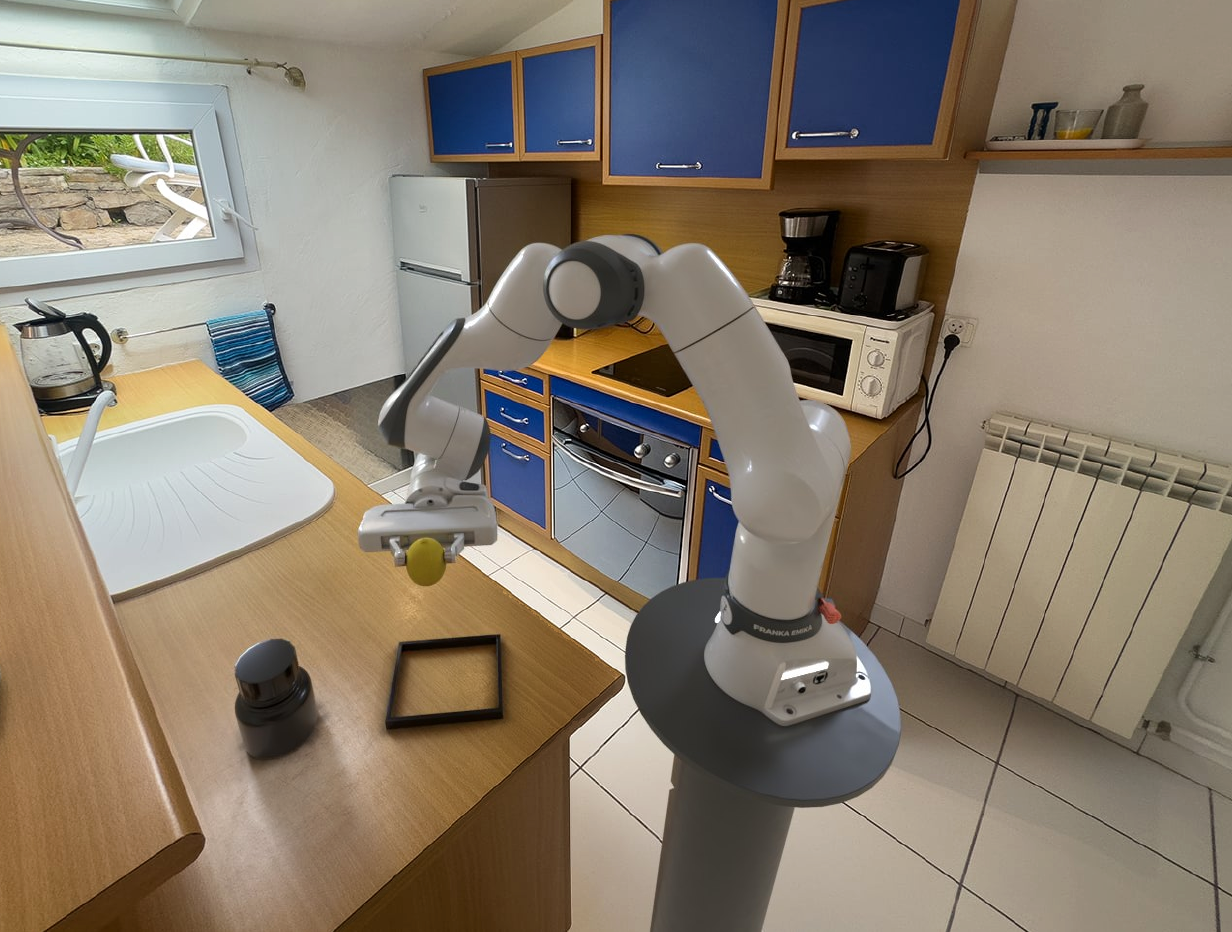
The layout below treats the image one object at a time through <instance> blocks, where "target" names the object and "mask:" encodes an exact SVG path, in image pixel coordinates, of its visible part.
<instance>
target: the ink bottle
mask: <svg viewBox="0 0 1232 932" xmlns="http://www.w3.org/2000/svg"><path fill="white" fill-rule="evenodd" d="M298 659H299V658H298V655H297V649H296V646H295V645H293V643H292V642H291V641H290V640H287V639H283V638H269V639H267V640H263V641H259V642H258V643H256V644H254V645H253V646H251V647H248V648H247V650H245V651H244V652H243V654H241V655H240V656H239V657H238V660H237V661H236V663H235V665H234V678H235V681H236V684H237V688H238V693H237V696H236V698H235V700H234V701H235V703H234V714H235V718H236V721H237V725H238V729H239V732H240V736H241V739H242V742H243V746H244V749H245V750H246V752H247V753H248V754H249V755H250V756H251V757H253V758H255V759H259V760H272V759H277V758H281V757H285V756H286V755H289V754H291V753H292V752H294V751H297V750H298V749H299V748H300V747H302V746H303V745H304V744H305V743H306V742H307V741H308V740H309V739H310V737H311V736H312V734H313V732H314V731H315V729H316V726H317V723H318V719H319V714H318V705H317V701H316V696H315V692H314V687H313V682H312V678H311V675H310V674H309V672H308V671H307V670H306V669H305V668H304V667H302V666H301V665H300V664H299V660H298Z"/></svg>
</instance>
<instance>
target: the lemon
mask: <svg viewBox="0 0 1232 932" xmlns="http://www.w3.org/2000/svg"><path fill="white" fill-rule="evenodd" d="M406 552H407V554H406V555H407V557H406V566H405V567H406V572H407V575H408V577H409V578H410V580H411V581H412V582H413V583H414V584H416V585H417V586H420V587H430V586H434V585H436V584H437V583H438V582H440V581H441V579H442V578H443V577H444V575H445V574H446V569H447V564H445V557H444V554H445V548H443V547H442V546H441V544H440V543H439V542H438V541H436V540H435V539H432V538H421V539H418V540H417V541H415V542H414V543H413V544H412V545H411V546H410V548H409V550H407V551H406Z"/></svg>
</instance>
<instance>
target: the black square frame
mask: <svg viewBox="0 0 1232 932" xmlns="http://www.w3.org/2000/svg"><path fill="white" fill-rule="evenodd" d="M501 638H502V637H501V633H496V634H494V633H493V634H480V635H471V636H458V637H444V638H431V639H430V638H429V639H418V640H417V639H415V640H406V641H405V640H404V641H403V640H402V641H399V642H398V645H397V650H396V656H395V660H394V661H395V662H394V668H393V672H392V673H393V674H392V679H391V685H390V691H389V696H388V703H387V708H386V712H385V713H386V715H385V718H384V719H385V720H384V725H385V730H386V731H389V730H400V729H409V728H411V729H412V728H420V727H432V726H443V725H452V724H463V723H475V722H485V721H496V720H504V700H503V695H504V694H503V671H502V670H503V669H502V667H503V666H502V640H501ZM494 645H496V660H497V661H496V664H497V666H496V669H497V707H490V708H481V709H479V708H478V709H469V710H457V711H445V712H435V713H425V714H415V715H414V714H413V715H403V716H394V711H395V705H396V699H397V694H398V686H399V681H400V675H401V669H402V668H401V667H402V661H403V655H404V652H405V653H406V652H416V651H417V652H418V651H430V650H443V649H455V648H469V647H479V646H480V647H482V646H494Z"/></svg>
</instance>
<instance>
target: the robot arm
mask: <svg viewBox="0 0 1232 932" xmlns="http://www.w3.org/2000/svg"><path fill="white" fill-rule="evenodd" d="M637 317H644V318H646V319H648V320H649V321H650V322H652V323H653V324H654V325H655V326H656V327H657V329H658V330H659V332H660V333H661V334H662V335H663V337H664V339H665V341H666V343H667V344H668V346H669V348H670V349H671V351H672V353H673V354H674V356H675V358H676V360H677V361H678V363H679V365H680V366H681V368H682V370H683V372H684V373H685V375H686V377H687V378H688V381H690V384H691V385H692V387H693V388H694V390H695V392H696V394H697V395H698V397H699V398H700V400H701V403H702V405H703V407H704V408H705V411H706V413H707V415H708V418H709V420H710V423H711V426H712V429H713V431H714V434H715V438H716V441H717V443H718V445H719V449H720V452H721V454H722V458H723V461H724V464H725V467H726V471H727V474H728V478H729V479H728V480H729V484H730V485H729V486H730V500H731V506H732V510H733V513H734V516H735V517H736V519H737V521H738V523H737V526H736V530H735V535H734V536H735V537H734V541H733V546H732V553H731V559H730V565H729V570H728V572H727V573H726V575H725V577H724V578H725V582H724V586H723V592H722V598H721V605H720V612H719V614H718V615H717V617H716V620H715V622H718V623H717V626H716V628H715V630H714V633H713V634H712V636H711V638H710V639H709V641H708V643H707V644H706V647H705V651H704V661H705V665H706V668H707V670H708V672H709V674H710V676H711V677H712V679H713V680H714V682H715V683H716V684H717V685H718V686H719V687H720V688H721V689H722V690H723V691H724V692H725V693H726V694H728V695H729V696H731V697H732V698H734V699H735V700H737V701H739V702H741V703H743V704H745V705H747V706H750V707H752V708H755V709H757V710H759V711H761V712H762V713H763V714H765V715H766V716H767V717H768V718H770V719H771V720H772V721H774V722H775V723H777V724H779V725H781V726H789V725H792V724H795V723H799V722H802V721H805V720H808V719H811V718H814V717H817V716H820V715H823V714H827V713H830V712H833V711H836V710H839V709H842V708H845V707H848V706H851V705H854V704H858V703H861V702H864V701H867V700H869V699H870V698H871V683H870V679H869V676H868V674H867V672H866V670H865V668H864V666H863V664H862V663H861V661H860V659H859V658H858V656H857V655H856V651H855V648H854V645H853V643H852V641H851V639H850V637H849V635H848V634H847V632H846V631H845V629H844V628H843V627H842V625H841V624H840V623H839V622H838V621H840V622H841V619H842V614H841V612H840V611H839V610H837V609H838V607H837V605H836V604H835V602H834V600H833V598H831V597H830V598H829V597H828V598H827V597H824V594H823V592H821V590H820V589H819V583H820V581H821V575H822V571H823V567H824V563H825V559H826V554H827V551H828V547H829V543H830V538H831V535H832V531H833V528H834V523H835V518H836V514H837V512H838V511H837V510H838V506H839V503H840V498H841V494H842V492H843V491H842V490H843V487H844V482H845V480H846V474H847V471H848V467H849V463H850V459H851V452H852V444H851V437H850V433H849V429H848V426H847V424H846V421H845V420H844V418H843V417H842V415H841V414H840V413H839V412H838V411H837V410H836V409H835V408H833V406H832V407H831V406H830V405H828V404H826V403H824V402H822V401H821V402H820V401H818V400H813V399H812V400H811V399H803V400H800V398H799V395H798V393H797V389H796V386H795V383H794V380H793V377H792V371H791V366H790V363H789V361H788V359H787V356H786V355H785V353H784V352H783V350H782V348H781V347H780V345H779V344H778V342H777V340H776V338H775V337H774V335H773V334H772V332H771V330H770V328H769V327H768V325H767V324H766V322H765V320H764V318H763V317H762V315H761V314H760V312H759V310H758V309H757V307H756V306H755V303H754V302H753V300H752V299H751V298H750V296H749V293H748V292H747V291H746V290H745V288H744V287H743V285H742V284H741V283H740V281H739V280H738V279H737V277H736V276H735V275H734V273H733V272H732V271H731V270H730V269H729V267H728V266H727V265H726V264H725V263H724V261H723V260H722V259H721V258H720V257H719V256H718V255H717V254H716V252H714V251H713V250H712V249H711V248H710V247H709V246H707V245H705V244H703V243H700V242H699V243H698V242H689V243H684V244H683V243H682V244H678V245H676V246H673V247H671V248H669V249H668V250H666V251H665V252H664V251H663V250H662V248H661V247H660V246H659V245H658V244H657V243H656V242H655V241H653V240H652V239H650V238H648V237H646V236H644V235H640V234H635V233H624V234H618V235H617V234H616V235H614V234H604V235H603V234H602V235H598V236H595V237H592V238H589V239H586V240H582V241H577V242H574V243H572V244H570V245H568V246H566V247H564V248H563V249H562V248H560V247H559V246H556V245H553V244H551V243H547V242H532V243H530V244H527V245H526V246H524V247H523V248H521V250H520V251H518V253H517V254H516V255H515V257H513V258H512V260H511V261H510V262H509V264H508V266H507V267H506V268H505V269H504V271H503V273H502V274H501V275H500V277H499V279H498V280H497V282H496V284H495V285H494V287H493V289H492V291H491V293H490V294H489V296H488V298H487V300H486V302H485V303H484V305H483V306H482V307H480V309H479V310H477V311H475V312H474V313H473V314H471V315H469V316H467V317H460V318H459V317H458V318H455V319H453V320H451V322H450V323H448V324H447V325H446V326H445V327H444V328H443V330H442V331H441V332H440V333H439V334H438V336H437V337H436V338H435V339H434V341H432V343H431V345H430V346H429V347H428V349H427V350H426V351H425V352H424V354H423V355H422V356H421V358H420V359H419V360H418V362H417V363H416V365H415V366H414V367H413V368H412V370H411V371H410V373H409V374H408V375H407V376H406V378H405V379H404V380H403V381H402V383H400V385H399V386H398V387H397V388H396V389H395V391H394V392H392V394H391V395H390V396H389V397H388V398H387V399H386V401H384V404H383V405H382V407H381V409H380V412H379V416H378V422H377V423H378V424H377V429H378V431H379V433H380V435H381V437H382V439H383V440H384V441H385V443H386V444H387V445H388V446H392V447H394V448H399V449H401V450H402V449H403V450H408V451H411V452H414V453H417V456H416V457H415V459H414V463H413V466H412V469H411V472H410V483H409V484H408V486H407V491H406V496H405V500H404V503H390V504H389V503H388V504H379V505H374V506H372V507H371V508H369V509H367V510H365V511H364V514H363V517H362V520H361V522H360V524H359V526H358V529H357V541H358V546H359V549H360V550H362V552H363V553H379V552H381V553H382V552H390V554H391V555H392V557H393V561H394V567H395V568H401V567H406V557H407V552H408V550H409V548H410V546H411V545H412V544H413V543H414V542H415V541H417V540H418V539H421V538H432V539H435V540H436V541H438V542H439V543H440V544H441V546H442V547H443V549H444V552H445V554H444V557H445V564H446V565H449V564H456V562H457V557H458V556H460V554H461V553H462V552H463V551H464V550H465V548H467V547H482V546H493V545H494V544H495V543H497V541H498V520H497V518H498V517H497V513H496V509H495V506H494V503H493V501H492V500H491V498H490V497H489V493H488V488H487V486H486V485H485V484H483V483H475V482H470V481H468V480H469V479H471V478H472V477H474V476H475V475H476V474H478V472H479V471H480V470H481V468H482V467H483V465H484V463H485V462H486V459H487V456H488V454H489V451H490V446H491V439H492V432H491V428H490V424H489V422H488V419H487V418H486V417H485V415H482V414H480V413H477V412H475V411H473V410H470V409H468V408H465V407H463V406H460V405H457V404H455V403H451V402H448V401H446V400H443V399H441V398H438V397H436V396H433V395H432V394H431V392H432V391H433V390H434V388H435V387H436V386H437V385H438V384H439V383H440V381H441V380H442V379H443V378H444V377H445V375H446V374H447V373H449V372H451V371H454V370H459V369H479V370H481V369H482V370H490V371H498V372H512V371H518V370H522V369H525V368H528V367H530V366H532V365H534V364H535V363H537V361H539V360H540V358H541V357H542V356H543V355H544V354H545V353H546V351H547V350H548V349H549V347H550V346H551V344H552V343H553V340H555V337H556V336H557V334H558V332H559V330H560V328H561V327H562V325H565V326H567V327H569V328H572V329H577V330H598V329H600V330H601V329H604V328H608V327H611V326H615V325H620V324H624V323H628V322H632V321H634V320H635V319H636V318H637ZM861 679H862V680H861ZM787 712H789V713H791V714H789V713H787Z"/></svg>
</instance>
